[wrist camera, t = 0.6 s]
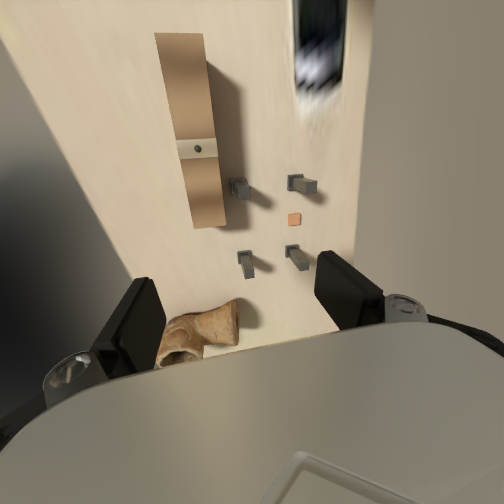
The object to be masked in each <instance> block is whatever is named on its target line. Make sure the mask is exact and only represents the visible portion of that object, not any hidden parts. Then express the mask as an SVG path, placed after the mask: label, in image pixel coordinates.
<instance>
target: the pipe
mask: <svg viewBox="0 0 504 504" xmlns="http://www.w3.org/2000/svg"><path fill="white" fill-rule="evenodd" d="M238 341H239V315H238V309H237V304H236V301H235V300H231V301H229V302H227V303H226V304H224V305H223V306H221V307H220V308H218V309H217V310H211V311H207V312H205V313H202V314H199V315H183V316H177V317H174V318H173V319H171V320H170V321H169V323H168V324H167V325H166V326H165V329H164V333H163V336H162V340H161V343H160V347H159V350H158V354H157V357H156V363H157V364H158V365H159V367H160V368H161V367H165V366H170V365H174V364H179V363H184V362H188V361H193V360H198V359H202V358H203V351H204V345H207V344H216V343H224V344H228V345H232V346H237V345H238Z"/></svg>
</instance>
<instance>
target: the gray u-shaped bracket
mask: <svg viewBox="0 0 504 504" xmlns="http://www.w3.org/2000/svg"><path fill="white" fill-rule="evenodd" d="M230 180H231V191H232V195H236V196H237V198H238V199H239V200H240V199H250V186H249V185H247V184H246V178H240V179H230ZM287 190H298V191H300V192H303V193H305V194H308V193H316V190H317V181H315V180H311V179H307V178H303V174H295V175H288V186H287Z"/></svg>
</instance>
